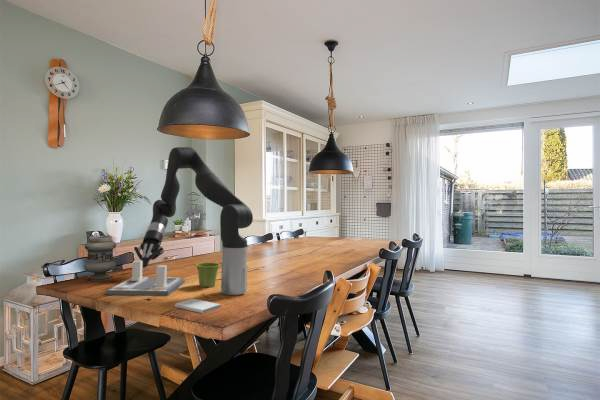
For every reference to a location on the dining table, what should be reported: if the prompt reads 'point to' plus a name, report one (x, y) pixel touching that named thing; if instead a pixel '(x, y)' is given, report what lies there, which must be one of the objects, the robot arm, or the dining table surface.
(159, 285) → the tab
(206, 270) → the plant pot
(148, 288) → the switch board
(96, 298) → the dining table surface
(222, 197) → the robot arm
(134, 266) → the tab
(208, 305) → the external hard drive
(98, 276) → the apothecary jar
